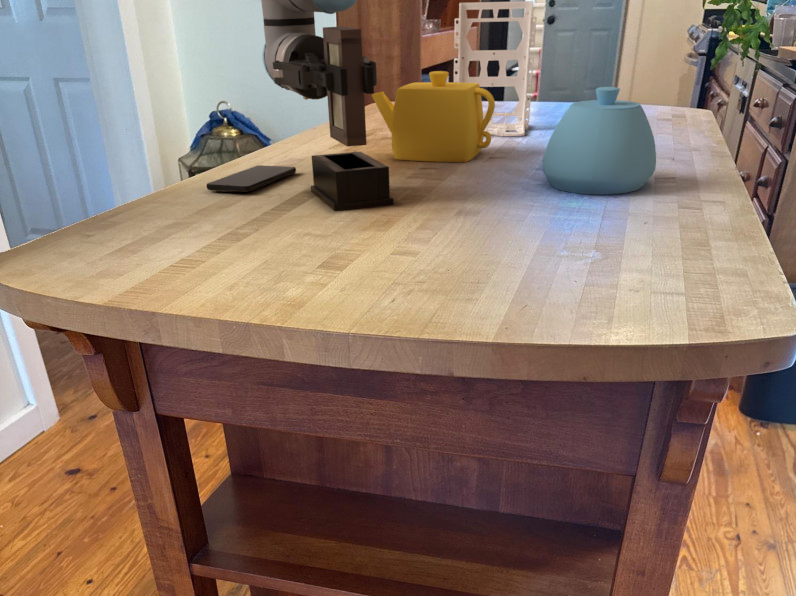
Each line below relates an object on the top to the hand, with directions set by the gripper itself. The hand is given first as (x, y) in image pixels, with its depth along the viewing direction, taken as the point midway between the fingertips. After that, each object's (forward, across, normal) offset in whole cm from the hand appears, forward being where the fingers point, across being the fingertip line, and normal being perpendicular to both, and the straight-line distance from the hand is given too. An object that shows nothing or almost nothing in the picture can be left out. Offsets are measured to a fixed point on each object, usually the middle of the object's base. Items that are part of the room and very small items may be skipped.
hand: (357, 81), depth 87 cm
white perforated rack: (-47, -40, -14) cm, 64 cm away
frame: (-5, 0, -7) cm, 9 cm away
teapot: (-29, -21, -14) cm, 39 cm away
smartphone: (-21, +10, -14) cm, 27 cm away
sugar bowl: (+2, -33, -14) cm, 36 cm away
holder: (-5, 0, -14) cm, 15 cm away
